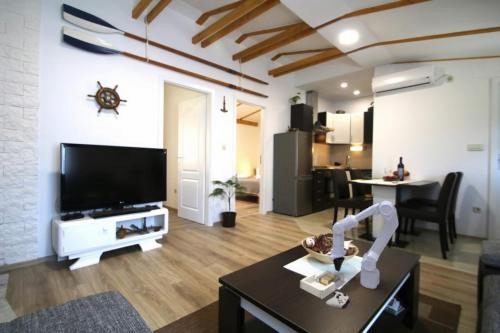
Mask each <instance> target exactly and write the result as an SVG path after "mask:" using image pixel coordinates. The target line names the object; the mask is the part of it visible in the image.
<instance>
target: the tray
mask: <svg viewBox="0 0 500 333" xmlns="http://www.w3.org/2000/svg"><path fill="white" fill-rule="evenodd" d="M315 279H316V274H315V273H312V274H310V275H307V276H306V277H304V278H302V279H301V280H300V281H299V288H300V289H302V290H303V291H306V292H307V293H309V294H311V295H313V296H315V297H317V298H319V299H320V300H323V299H325V298H326V297H327V296H329V295H330V294H332V293H334V292H336V290H335V283H334V282H332V283H330V284H329V285H327V286H326V285H324V284H321V283H319V282H317V281H315Z"/></svg>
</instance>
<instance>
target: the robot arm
mask: <svg viewBox="0 0 500 333" xmlns="http://www.w3.org/2000/svg"><path fill="white" fill-rule="evenodd" d="M372 215H375V216H380V215H381V216H382V217H383V219H384V221H385V224H384V226H383V227H382V228H381V231H380V232H379V234H378V236H377V237H376V239H375V240H374V242H373V244H372V245H371V247H370V249H369V250H368V251H367V252H365V253H364V254H363V255H362V256H363V257H362V260H361V263H360V285H362V287H365V288H367V289H376V288H377V287H378V286H379V285H380V270H379V269H378V268H377V262H378V260H379V258H380V255H381V254H382V252H383V251H384V249H385V248H386V246H387V244H388V243H389V241H390V240H391V238H392V236H393V235H394V234H395V232H396V229H397V228H398V227H399V220H398V219H399V218H398V213H397V208H396V207H395V204H394V203H393V202H392V201H391V200H382V201H380V202H378V203H375V204H373V205H371V206H369V207H368V208H365V209H364V210H362V211H361V212H358V214H355V215H354V214H348V215H346V217H345V218H343V219H339V220H338V221H337V222H335V223H334V225H333V226H332V229H331V231H332V234H333V235H332V250H330V255H329V256H328V260H329V261H332V262H333V265H334V266H333V267H334V270H335V271H337V272H340V271H341V269H342V265H343V263H344V260H346V259H345V258H346V257H345V255H347V250H346V249H345V231H349V230H351V229H353V228H354V227H356V226H358V225H359V222H360V221H362V220H364V219H366V218H369V217H370V216H372Z"/></svg>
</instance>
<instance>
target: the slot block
mask: <svg viewBox="0 0 500 333" xmlns="http://www.w3.org/2000/svg"><path fill="white" fill-rule="evenodd" d="M329 273H332V271H329V270H327V271H326V270H325V271H324V272H323V273H320V275H318V276H315V281H316V282H318V283H320V284H322V283H321V278H322V277H324V276H325V275H327V274H329ZM333 282H334V283H335V291H337V290H338V289H339V288H341V287H342V286H344V285H345V284H347V281H345V277H344V276H343V275H340V276H339V277H337V279H336V280H334V281H333ZM331 283H332V282H331ZM323 285H325V284H323ZM325 286H327V285H325Z"/></svg>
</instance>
